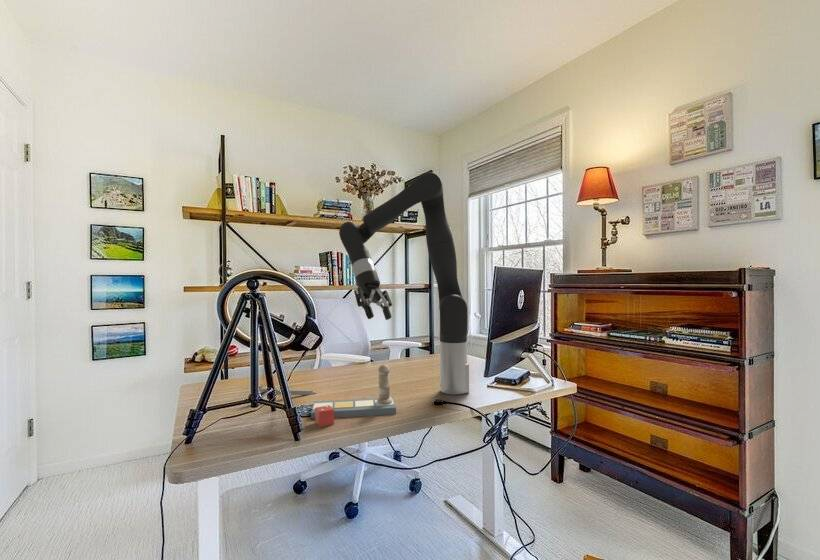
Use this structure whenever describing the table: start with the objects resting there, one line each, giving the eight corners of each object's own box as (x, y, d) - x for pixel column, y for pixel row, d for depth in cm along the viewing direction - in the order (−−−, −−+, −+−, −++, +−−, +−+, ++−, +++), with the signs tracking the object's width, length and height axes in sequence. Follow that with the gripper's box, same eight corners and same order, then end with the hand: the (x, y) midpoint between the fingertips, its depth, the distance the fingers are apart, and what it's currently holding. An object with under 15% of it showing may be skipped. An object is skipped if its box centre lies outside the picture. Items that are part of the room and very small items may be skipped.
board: (392, 403, 126) (392, 396, 126) (396, 413, 116) (396, 406, 116) (314, 407, 122) (314, 400, 122) (311, 419, 112) (310, 411, 112)
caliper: (254, 406, 125) (254, 385, 125) (253, 405, 126) (253, 385, 126) (316, 394, 137) (316, 375, 137) (315, 393, 138) (315, 375, 138)
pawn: (390, 399, 123) (390, 362, 123) (392, 404, 118) (391, 365, 118) (376, 400, 122) (376, 363, 122) (377, 404, 118) (376, 366, 118)
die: (329, 419, 112) (329, 404, 112) (334, 424, 108) (333, 409, 108) (315, 422, 110) (315, 407, 110) (319, 427, 106) (319, 411, 106)
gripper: (358, 266, 128) (373, 312, 122) (387, 272, 139) (402, 314, 133) (343, 278, 131) (356, 323, 125) (372, 282, 143) (386, 324, 137)
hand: (380, 318), depth 129 cm, fingers open, 8 cm apart
